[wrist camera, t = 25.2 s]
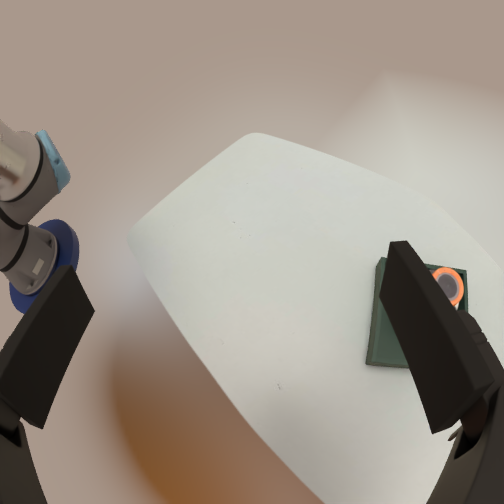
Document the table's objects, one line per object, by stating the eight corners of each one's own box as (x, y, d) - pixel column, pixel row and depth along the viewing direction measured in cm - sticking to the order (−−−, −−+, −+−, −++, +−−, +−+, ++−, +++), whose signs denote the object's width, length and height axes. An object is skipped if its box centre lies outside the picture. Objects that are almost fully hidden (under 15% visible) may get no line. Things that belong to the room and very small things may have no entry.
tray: (365, 364, 31) (371, 361, 29) (375, 266, 37) (381, 256, 34) (454, 370, 28) (465, 367, 26) (457, 278, 34) (466, 270, 31)
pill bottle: (436, 310, 32) (479, 277, 22) (417, 348, 30) (460, 327, 20) (402, 287, 34) (435, 246, 24) (381, 324, 33) (413, 294, 23)
